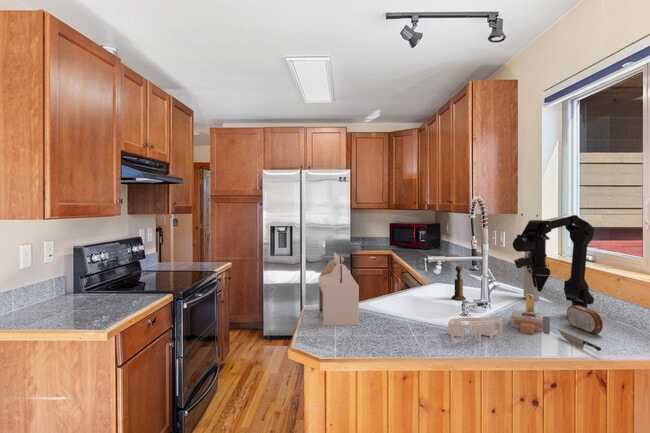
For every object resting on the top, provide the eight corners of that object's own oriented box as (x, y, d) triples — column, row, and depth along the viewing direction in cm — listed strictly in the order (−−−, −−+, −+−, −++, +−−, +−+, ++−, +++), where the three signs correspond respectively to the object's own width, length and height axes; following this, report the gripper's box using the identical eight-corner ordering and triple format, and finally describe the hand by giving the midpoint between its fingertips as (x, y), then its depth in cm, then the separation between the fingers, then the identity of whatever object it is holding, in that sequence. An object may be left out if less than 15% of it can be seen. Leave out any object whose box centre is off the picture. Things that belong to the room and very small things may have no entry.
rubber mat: (512, 313, 165) (512, 312, 165) (549, 318, 158) (549, 317, 158) (506, 329, 143) (506, 328, 143) (549, 335, 135) (549, 334, 135)
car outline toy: (494, 334, 137) (494, 314, 137) (511, 345, 126) (511, 323, 126) (441, 336, 135) (441, 316, 135) (454, 347, 124) (454, 325, 124)
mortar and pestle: (465, 301, 188) (465, 265, 188) (466, 304, 182) (466, 267, 182) (451, 300, 190) (451, 264, 190) (451, 302, 184) (451, 266, 184)
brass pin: (526, 317, 157) (526, 293, 157) (534, 318, 156) (534, 294, 156) (525, 319, 155) (525, 294, 155) (533, 320, 153) (534, 295, 153)
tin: (603, 336, 135) (603, 312, 135) (595, 336, 134) (595, 313, 134) (572, 323, 150) (572, 302, 150) (565, 324, 149) (565, 303, 149)
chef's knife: (556, 336, 134) (556, 328, 134) (559, 336, 134) (559, 328, 134) (599, 357, 115) (599, 347, 115) (602, 357, 115) (602, 347, 115)
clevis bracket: (513, 322, 152) (513, 310, 152) (542, 326, 147) (543, 313, 147) (509, 332, 139) (509, 319, 139) (542, 337, 133) (542, 323, 133)
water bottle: (526, 301, 187) (526, 251, 187) (521, 297, 195) (521, 249, 195) (546, 302, 186) (546, 251, 186) (540, 298, 194) (540, 250, 193)
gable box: (359, 331, 140) (358, 256, 140) (323, 333, 139) (323, 257, 138) (349, 315, 162) (349, 250, 162) (318, 316, 161) (318, 251, 161)
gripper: (513, 248, 164) (512, 283, 164) (517, 252, 146) (517, 292, 147) (542, 249, 160) (542, 285, 160) (550, 253, 142) (550, 294, 142)
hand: (537, 289), depth 152 cm, fingers open, 9 cm apart
